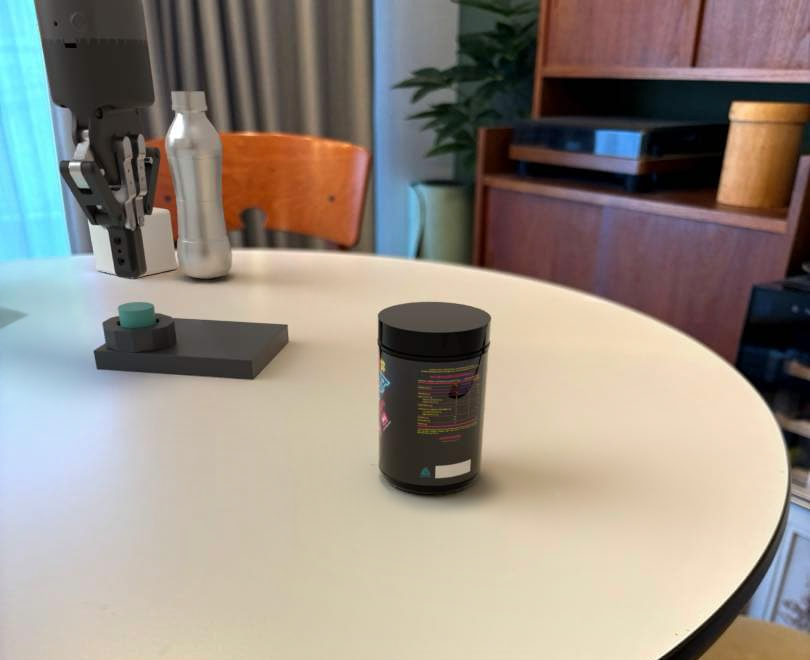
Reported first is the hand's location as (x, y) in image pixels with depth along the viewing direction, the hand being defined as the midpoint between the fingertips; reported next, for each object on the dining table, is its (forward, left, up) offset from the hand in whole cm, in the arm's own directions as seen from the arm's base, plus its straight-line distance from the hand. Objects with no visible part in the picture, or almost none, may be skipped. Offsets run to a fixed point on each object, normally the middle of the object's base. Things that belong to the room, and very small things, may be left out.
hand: (131, 275), depth 69 cm
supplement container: (+28, -18, -8) cm, 34 cm away
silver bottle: (-6, +32, -8) cm, 33 cm away
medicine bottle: (-16, +34, -8) cm, 38 cm away
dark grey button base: (+4, +3, -7) cm, 9 cm away
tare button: (0, 0, -4) cm, 4 cm away
